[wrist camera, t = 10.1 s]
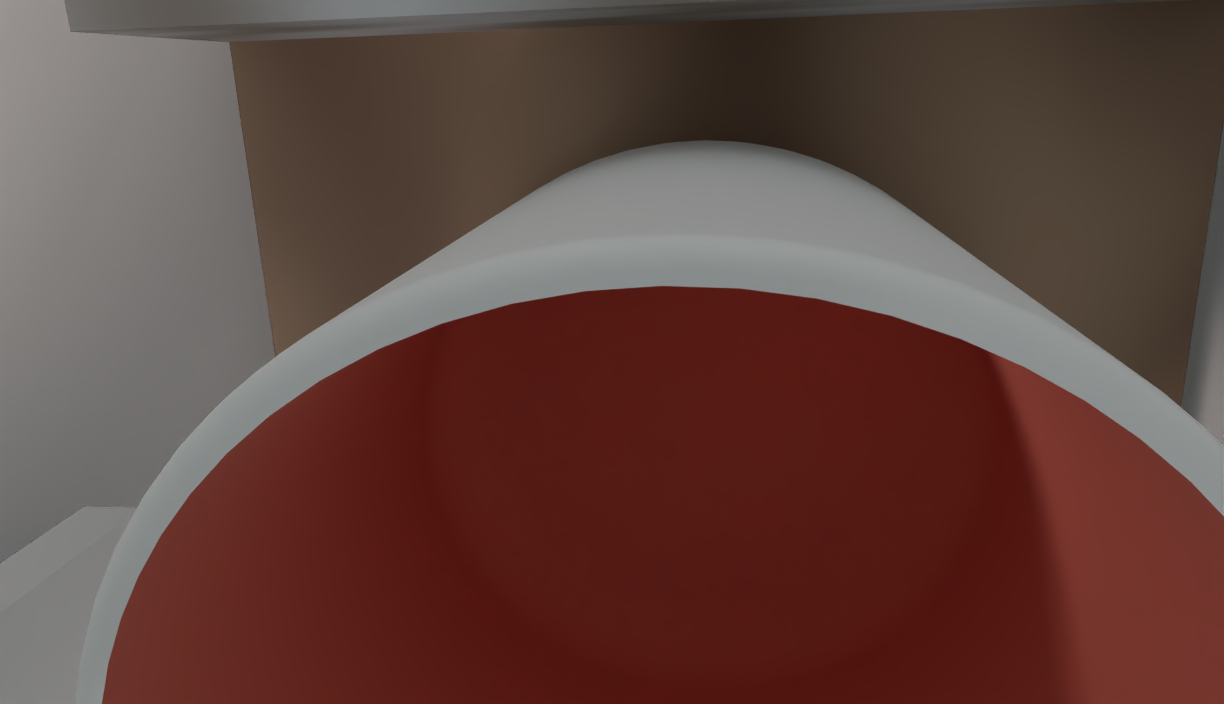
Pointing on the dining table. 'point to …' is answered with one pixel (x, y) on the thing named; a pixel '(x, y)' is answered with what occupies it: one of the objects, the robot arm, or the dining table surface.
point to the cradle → (733, 128)
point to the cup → (680, 476)
